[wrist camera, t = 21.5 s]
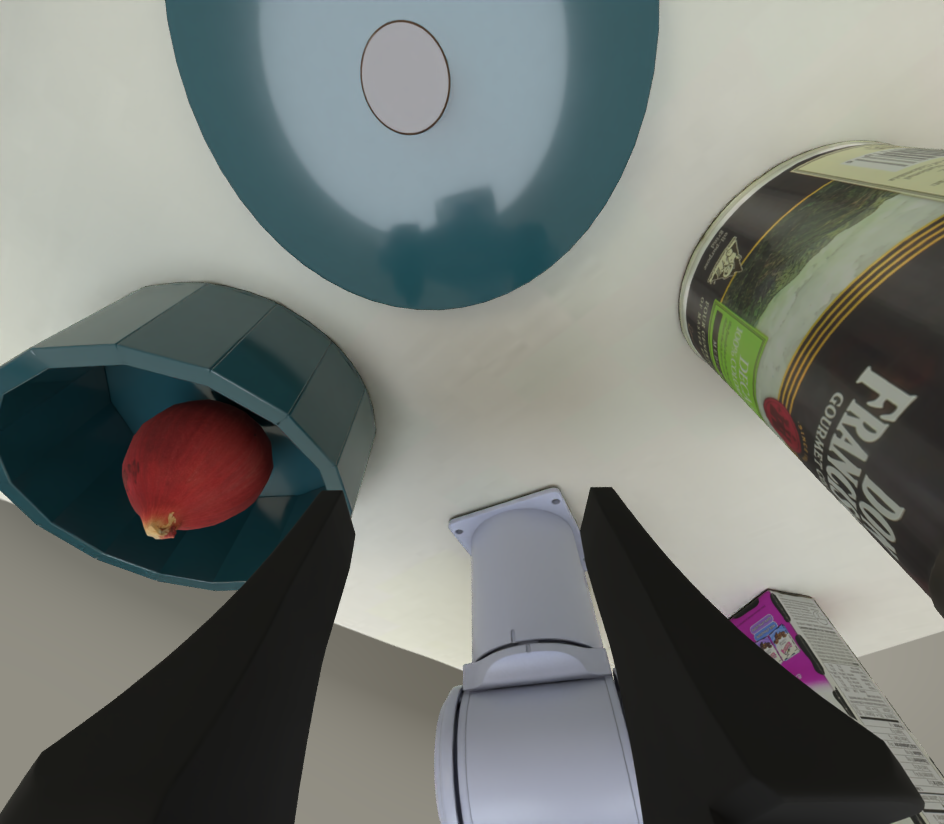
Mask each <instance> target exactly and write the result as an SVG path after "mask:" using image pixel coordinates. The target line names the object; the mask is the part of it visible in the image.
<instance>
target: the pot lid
mask: <svg viewBox="0 0 944 824" xmlns="http://www.w3.org/2000/svg"><path fill="white" fill-rule="evenodd" d="M165 3H166V12H167V21H168V25H169V30H170V35H171V39H172V44H173V49H174V53H175V58H176V63H177V66H178V69H179V72H180V76H181V79H182V82H183V85H184V88H185V91H186V95H187V98H188V101H189V104H190V106H191V109H192V111H193V113H194V116H195V118H196V120H197V123H198V125H199V128H200V130H201V132H202V135H203V137H204V139H205V141H206V143H207V145H208V147H209V149H210V151H211V152H212V154H213V156H214V158H215V160H216V162H217V164H218V165H219V167H220V169H221V171H222V173H223V174H224V176H225V177H226V179H227V180H228V182H229V183H230V185H231V186H232V188H233V189H234V191H235V192H236V194H237V195H238V197H239V198H240V200H241V201H242V202H243V204H244V205H245V206H246V207H247V209H248V210H249V211H250V212H251V213H252V215H253V216H254V217H255V218H256V220H257V221H258V222H259V223H260V225H261V226H262V227H263V228H264V229H265V230H266V231H267V232H268V233H269V234H270V235H271V236H272V237H273V238H274V239H275V240H276V241H277V242H278V243H279V244H280V245H281V246H282V247H283V248H284V249H285V250H287V251H288V252H289V253H290V254H291V255H293V256H294V257H295V258H296V259H297V260H299V261H300V262H301V263H302V264H303V265H305V266H306V267H308V268H309V269H311V270H312V271H314V272H315V273H317V274H318V275H320V276H321V277H323V278H324V279H326V280H328V281H329V282H331V283H333V284H335V285H337V286H339V287H341V288H343V289H345V290H347V291H348V292H351V293H353V294H356V295H359V296H361V297H364V298H366V299H369V300H371V301H375V302H379V303H383V304H387V305H390V306H394V307H401V308H409V309H416V310H445V309H454V308H462V307H467V306H471V305H475V304H479V303H483V302H487V301H489V300H492V299H495V298H497V297H500V296H502V295H505V294H508V293H510V292H511V291H513V290H515V289H517V288H519V287H521V286H523V285H525V284H526V283H528V282H530V281H531V280H533V279H534V278H536V277H537V276H538V275H540V274H541V273H543V272H544V271H546V270H547V269H548V268H550V267H551V266H552V265H553V264H554V263H555V262H557V261H558V260H559V259H560V258H561V257H562V256H563V255H564V254H566V253H567V252H568V251H569V250H570V249H571V248H572V247H573V245H574V244H575V243H576V242H577V241H578V240H579V239H580V238H581V237H582V235H583V234H584V233H585V232H586V231H587V230H588V229H589V227H590V226H591V224H592V223H593V222H594V220H595V219H596V217H597V216H598V215H599V213H600V212H601V210H602V209H603V207H604V206H605V205H606V203H607V201H608V199H609V198H610V196H611V194H612V192H613V190H614V189H615V187H616V185H617V183H618V182H619V180H620V178H621V176H622V174H623V171H624V169H625V167H626V164H627V162H628V160H629V158H630V155H631V153H632V151H633V148H634V146H635V143H636V140H637V137H638V134H639V131H640V127H641V124H642V121H643V118H644V115H645V112H646V108H647V103H648V98H649V94H650V89H651V84H652V80H653V75H654V69H655V60H656V51H657V42H658V33H659V0H165Z"/></svg>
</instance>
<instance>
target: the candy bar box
mask: <svg viewBox="0 0 944 824" xmlns="http://www.w3.org/2000/svg"><path fill="white" fill-rule="evenodd" d="M730 621H731V622H732V623H733V624H734V625H735V626H736V627H737V628H738V629H739V630H741V631H742V632H743V633H744V634H745V635H746V636H747V637H748V638H750V639H751V640H752V641H753V642H754V643H756V644H757V645H758V646H759V647H760V648H762V649H763V650H764V651H765V652H766V653H768V654H769V655H770V656H771V657H772V658H773V659H775V660H776V661H777V662H778V663H779V664H781V665H782V666H783V667H784V668H785V669H787V670H788V671H789V672H790V673H792V674H793V675H794V676H796V677H797V678H798V679H799V680H801V681H802V682H803V683H805V684H806V685H807V686H809V687H810V688H811V689H812V690H814V691H815V692H816V693H818V694H819V695H820V696H822V697H823V698H824V699H826V700H827V701H828V702H830V703H831V704H833V705H834V706H835V707H837V708H838V709H840V710H841V711H842V712H844V713H845V714H847V715H848V716H849V717H851V718H852V719H854V720H855V721H856V722H858V723H859V724H861V725H862V726H864V727H865V728H866V729H868V730H869V731H871V732H872V733H873V734H875V735H876V736H878V737H879V738H880V739H882V740H883V741H884V742H885V743H886V745H887V746H888V747H889V749H890V750H891V752H892V753H893V754H894V756H895V757H896V759H897V760H898V761H899V763H900V764H901V766H902V767H903V769H904V770H905V772H906V773H907V775H908V776H909V778H910V780H911V781H912V783H913V784H914V786H915V787H916V789H917V790H918V792H919V794H920V795H921V797H922V798H923V800H924V802H925V807H924V810H922V811H921V812H920V813H918V814H916V815H914V816H911V817H909V818H906V819H903V820H900V821H897V822H894V823H891V824H944V777H943V775H942V774H941V772H940V771H939V770H938V768H937V767H936V766H935V764H934V762H933V761H932V760H931V758H930V757H929V756H928V754H927V753H926V752H925V750H924V749H923V747H922V746H921V745H920V743H919V742H918V741H917V739H916V738H915V737H914V735H913V734H912V733H911V731H910V730H909V729H908V728H907V727H906V725H905V724H904V722H903V721H902V719H901V718H900V716H899V715H898V714H897V712H896V711H895V709H894V708H893V707H892V706H891V704H890V703H889V701H888V700H887V698H886V697H885V695H884V694H883V693H882V691H881V690H880V689H879V687H878V686H877V684H876V683H875V682H874V681H873V680H872V678H871V677H870V675H869V674H868V673H867V671H866V670H865V668H864V667H863V666H862V664H861V663H860V662H859V660H858V659H857V657H856V656H855V655H854V653H853V652H852V651H851V649H850V648H849V646H848V645H847V644H846V642H845V641H844V640H843V638H842V637H841V635H840V634H839V633H838V631H837V630H836V629H835V627H834V626H833V625H832V623H831V622H830V621H829V619H828V618H827V616H826V615H825V614H824V612H823V611H822V610H821V608H820V607H819V606H818V604H817V603H816V602H815V600H814V599H813V598H811V597H808V596H803V595H797V594H790V593H783V592H778V591H771V590H768V591H766V592H764V593H763V594H762V595H760V596H759V597H758V598H756V599H755V600H754V601H753V602H751V603H750V604H749V605H748V606H746V607H745V608H744V609H743V610H741V611H740V612H739V613H738V614H736V615H735V616H734V617H733V618H731V619H730Z"/></svg>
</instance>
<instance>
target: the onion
mask: <svg viewBox="0 0 944 824" xmlns="http://www.w3.org/2000/svg"><path fill="white" fill-rule="evenodd" d="M272 470H273V458H272V448H271V441H270V440H269V438H268V436H267V435H266V433H265V431H264V430H263V428H262V427H261V426H260V425H259V424H258V423H257V422H256V421H255V420H254V419H253V418H252V417H250V416H249V415H248V414H247V413H246V412H245V411H243V410H241V409H239V408H237V407H235V406H233V405H230V404H227V403H223V402H220V401H215V400H210V399H208V400H195V401H188V402H183V403H179V404H174V405H172V406H171V407H169V408H167V409H165V410H164V411H162V412H160V413H158V414H157V415H155V416H154V417H152V418H151V419H149V420H148V421H146V422H145V423H143V425H142V426H141V427H140V429H139V430H138V431H137V432H136V434H135V435H134V436H133V439H132V441H131V443H130V446H129V448H128V450H127V453H126V456H125V458H124V461H123V464H122V478H123V483H124V487H125V490H126V493H127V495H128V498H129V501H130V503H131V505H132V507H133V509H134V510H135V512H136V513H137V514H138V515H139V516H140V517H141V520H142V523H143V526H144V529H145V532H146V534H147V536H151V537H154V538H155V539H167V538H174V537H175V535H176V533H177V532H176V530H193V529H199V528H204V527H208V526H213V525H216V524H219V523H221V522H223V521H225V520H227V519H229V518H231V517H233V516H235V515H237V514H238V513H240V512H242V511H244V510H245V509H247V508H248V507H249V506H250V505H252V504H253V503H254V502H255V501H256V499H257V498H258V496H259V495H260V494H261V492H262V491H263V489H264V487H265V485H266V484H267V482H268V480H269V478H270V475H271V472H272Z"/></svg>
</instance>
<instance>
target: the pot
mask: <svg viewBox="0 0 944 824" xmlns="http://www.w3.org/2000/svg"><path fill="white" fill-rule="evenodd" d="M208 399H210V400H215V401H220V402H223V403H227V404H230V405H233V406H235V407H237V408H239V409H241V410H243V411H245V412H246V413H247V414H248V415H249V416H250V417H252V418H253V419H254V420H255V421H256V422H257V423H258V424H259V425H260V426H261V427H262V428H263V430H264V431H265V433H266V435H267V436H268V438H269V440H270V441H271V448H272V458H273V470H272V472H271V475H270V478H269V480H268V482H267V484H266V485H265V487H264V489H263V491H262V492H261V494H260V495H259V496H258V498H257V499H256V501H255V502H254V503H253V504H252V505H250V506H249V507H248V508H247V509H245V510H244V511H242V512H240V513H238V514H237V515H235V516H233V517H231V518H229V519H227V520H225V521H223V522H221V523H219V524H216V525H213V526H208V527H204V528H199V529H193V530H176V532H177V533H176V535H175V537H174V538H167V539H155V538H154V537H151V536H147V534H146V532H145V529H144V526H143V523H142V520H141V517H140V516H139V515H138V514H137V513H136V512H135V510H134V509H133V507H132V505H131V503H130V501H129V498H128V495H127V493H126V490H125V487H124V483H123V478H122V464H123V461H124V458H125V456H126V453H127V450H128V448H129V446H130V443H131V441H132V439H133V436H134V435H135V434H136V432H137V431H138V430H139V429H140V427H141V426H142V425H143V423H145V422H146V421H148V420H149V419H151V418H152V417H154V416H155V415H157V414H158V413H160V412H162V411H164V410H165V409H167V408H169V407H171V406H172V405H174V404H179V403H183V402H188V401H195V400H208ZM375 434H376V427H375V419H374V412H373V406H372V403H371V400H370V397H369V394H368V391H367V389H366V387H365V385H364V383H363V381H362V379H361V377H360V375H359V374H358V372H357V371H356V369H355V368H354V366H353V365H352V363H351V362H350V360H349V359H348V358H347V357H346V356H345V355H344V353H343V352H342V351H341V350H340V349H339V347H338V346H336V345H335V344H334V343H333V342H332V341H331V340H330V339H329V338H328V337H327V336H326V335H325V334H324V333H323V332H321V331H320V330H319V329H317V328H316V327H315V326H313V325H312V324H311V323H310V322H308V321H307V320H305V319H304V318H302V317H301V316H299V315H297V314H296V313H294V312H292V311H291V310H289V309H287V308H285V307H283V306H281V305H279V304H277V303H275V302H273V301H271V300H269V299H267V298H264V297H261V296H259V295H256V294H253V293H250V292H248V291H244V290H240V289H236V288H232V287H228V286H224V285H217V284H211V283H202V282H178V283H170V284H162V285H157V286H145V287H143V288H140V289H139V290H137V291H135V292H133V293H131V294H129V295H127V296H126V297H124V298H122V299H120V300H118V301H116V302H114V303H113V304H111V305H109V306H107V307H105V308H103V309H101V310H99V311H98V312H96V313H94V314H92V315H90V316H88V317H86V318H85V319H83V320H81V321H79V322H77V323H75V324H73V325H71V326H70V327H68V328H66V329H64V330H62V331H60V332H58V333H57V334H55V335H53V336H51V337H49V338H47V339H45V340H44V341H42V342H40V343H38V344H36V345H34V346H32V347H30V348H29V349H27V350H25V351H24V352H22V353H21V354H19V355H17V356H16V357H14V358H12V359H11V360H9V361H8V362H6V363H4V364H3V365H1V366H0V491H1V492H2V493H3V494H4V495H5V496H7V497H8V498H9V499H10V500H11V501H12V502H13V503H14V504H15V505H16V506H17V507H18V508H19V509H20V510H21V511H22V512H23V513H25V514H26V515H27V516H28V517H29V518H30V519H31V520H32V521H33V522H34V523H35V524H36V525H39V526H40V527H41V528H43V529H45V530H47V531H48V532H50V533H52V534H53V535H55V536H57V537H59V538H60V539H62V540H64V541H66V542H67V543H69V544H71V545H73V546H74V547H76V548H78V549H79V550H81V551H83V552H84V553H86V554H88V555H90V556H91V557H93V558H97V560H100V561H102V562H105V563H108V564H111V565H114V566H116V567H120V568H122V569H125V570H128V571H131V572H133V573H136V574H139V575H142V576H145V577H147V578H150V579H153V580H157V581H159V582H166V583H171V584H177V585H183V586H189V587H195V588H201V589H207V590H213V591H227V590H239V589H240V588H241V587H242V586H243V585H244V583H245V582H246V581H247V580H248V579H249V578H250V577H251V576H252V575H253V573H254V572H255V571H256V570H257V569H258V568H259V567H260V566H261V565H262V563H263V562H264V561H265V560H266V559H267V558H268V557H269V556H270V554H271V553H272V552H273V551H274V550H275V548H276V547H277V546H278V545H279V543H280V542H281V541H282V540H283V539H284V537H285V536H286V535H287V534H288V533H289V531H290V530H291V529H292V528H293V526H294V525H295V524H296V522H297V521H298V520H299V519H300V517H301V516H302V515H303V514H304V512H305V511H306V510H307V508H308V507H309V506H310V504H311V503H312V502H313V500H314V499H315V498H316V496H317V495H318V494H319V493H320V492H321V491H322V490H343V492H344V496H345V499H346V503H347V506H348V510H349V513H350V517H351V518H352V515H353V511H354V508H355V504H356V501H357V497H358V494H359V491H360V487H361V484H362V480H363V477H364V473H365V470H366V466H367V463H368V459H369V456H370V452H371V448H372V445H373V441H374V438H375Z"/></svg>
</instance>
